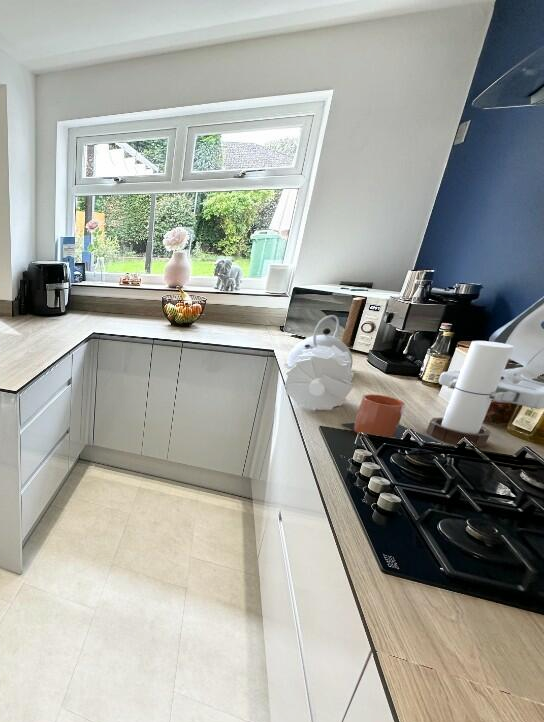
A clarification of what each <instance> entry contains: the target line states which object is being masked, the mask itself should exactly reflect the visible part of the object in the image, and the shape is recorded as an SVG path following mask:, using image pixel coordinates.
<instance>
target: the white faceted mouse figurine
mask: <svg viewBox="0 0 544 722" xmlns="http://www.w3.org/2000/svg"><path fill="white" fill-rule="evenodd" d="M302 353H303V354H302V355H300V356H298V358H297V359H296V360H295V361H294V364H293V365H291V366H290V367H289V370H288V371H286V372H285V374H286V375H287V378H286V381H285V383H284V385H283V388H285V392H286V393H285V394H286V396H289V397H290V398H291V399H292V400H293V401H294V403H295V404H296V405H297V406H302V407H305V408H307V409H309V410H311V411H313V412H315V411H316V410H325V411H327V410H330V411H331V410H333V409H334V408H335V407H334V406H336V405H339V404H341V403H342V404H343V403H346V402H348V401H347V399H346V398H347V396H348V395H349V394H350V393H351V391H352V390H353V388H354V387H353V385H354V383H352V382H351V381H352V379H353V377H354V376H355V375H354V374H355V371H353V370H351V371H350V364H349V363H351V360H350V356H349V353H348V352H342V351H341V350H340V349H338V348H337V347H336V346H335V345H333V346H332V347H326V346H321V345H317V346H316V348H312V349H308V350H304V351H302ZM336 407H337V406H336Z"/></svg>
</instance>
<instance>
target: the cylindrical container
mask: <svg viewBox="0 0 544 722" xmlns="http://www.w3.org/2000/svg"><path fill="white" fill-rule="evenodd" d="M513 347H514V346H512V345H509V344H504V343H497V342H489V340H488V341H487V340H472V341H471V342H470V345H469V348H468V351H467V353H466V355H465V359H464V361H463V364H462V367H461V369H460V371H461V372H460V375H459V377H458V380H457V383H456V386H455V388H454V389H453V391H452V393H451V396H450V399H449V403H448V404H447V408H446V409H445V413H444V416H443V417H442V418H443V421H442V424H441V426H444V427H446V428H449V429H452V430H456V431H460V432H465V433H472V434H478V433H479V431H480V428H481V426H482V427H483V423H484V421H485V418H486V415H487V413H488V410H489V408H490V405H491V403H492V401H493V400H492V399H490V398H489V396H491V395H490V394H491V392H495V391H496V389H497V386H498V384H499V381H500V379H501V376H502V374H503V371H504V370H505V369H506V366H507V364H508V362H509V360H510V359H509V357H510V354H511V352H512V349H513Z"/></svg>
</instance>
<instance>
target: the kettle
mask: <svg viewBox="0 0 544 722" xmlns="http://www.w3.org/2000/svg"><path fill="white" fill-rule="evenodd" d="M329 318H334V319H335V321H336V327H335V330H334V333H333V335H329V334H331V329H330V328H328V327H325V328H324V329H323V330H322V333H323V334H320V335H317V334H318V333H317V332H318V330H319V327H320V325H321V324H322V323H323V321H325V320H328V319H329ZM339 327H340V320H339V317H338V316H336V315H335V314H330V315H327V316H324V317H323V318H321V319H320V320H319V321H318V323H317V325H316V326H315V327H314V331H313V335H311V336H309V337H307V338H304V339H302V340H300V341H299V342H298V343H296V344H295V346H293V347H292V349H291V351H290V352H289V355H288V357H287V361H286V366H287V367H288V368H290V366H291V365H293V364H294V361H295V360H296V359H297V358H298V356H300V355H302V354H303V353H302V351H304V350H308V349H312V348H316V346H317V345H321V346H326V347H332V346H333V345H335V346H336V347H337V348H338V349H340V350H341V351H342V352H348V353H349V356H350V360H351V363H349V364H350V371H352V368H353V363H354V362H353V360H354V359H353V354H352V352H351V350H350V347H348V346H347V344H346V343H344V341H342V340H341V339H339V338H337V337H336V336H337V334H338V331H339ZM287 364H288V365H287Z"/></svg>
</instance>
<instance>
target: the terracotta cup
mask: <svg viewBox="0 0 544 722" xmlns="http://www.w3.org/2000/svg"><path fill="white" fill-rule="evenodd" d="M405 406H406V404H405V402H404V401H402V400H401V399H398V398H395V397H392V396H388V395H381V394H375V393H374V394H373V393H369V394H363V395H362V397H361V400H360V404H359V407H358V411H357V413H356V417H355V421H354V423H355V424H354V432H355V433H356V434H358V435H360V433H359V432H363V433H366V434H372V435H379V436H385V437H394V436H395V433H396V430H397V427H398V424H399V425H400V421H401V419H402V416H403V412H404V410H405Z"/></svg>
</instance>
